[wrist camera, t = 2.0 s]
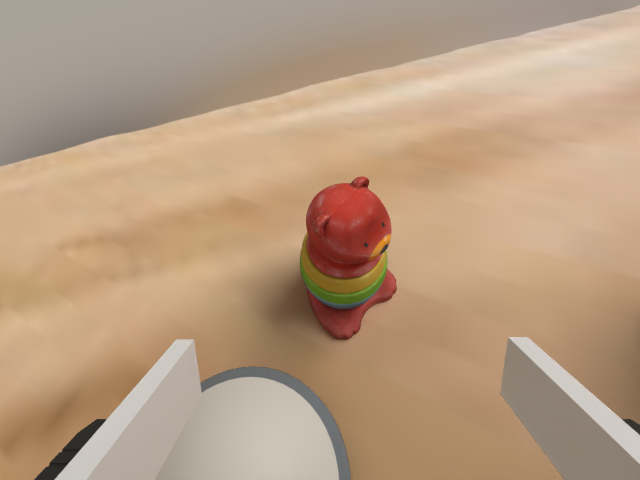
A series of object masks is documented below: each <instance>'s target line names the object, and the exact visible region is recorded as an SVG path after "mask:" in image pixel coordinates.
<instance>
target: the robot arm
mask: <svg viewBox="0 0 640 480" xmlns="http://www.w3.org/2000/svg"><path fill="white" fill-rule="evenodd" d="M500 394H501V396H502V397H503V398H504V400H505V401H506V402H507V404H508V405H509V406H510V408H511V409H512V410H513V412H514V413H515V414H516V416H517V417H518V418H519V420H520V421H521V422H522V424H523V425H524V426H525V428H526V429H527V430H528V432H529V433H530V434H531V436H532V437H533V438H534V440H535V441H536V442H537V444H538V445H539V447H540V448H541V449H542V451H543V452H544V453H545V455H546V456H547V457H548V459H549V460H550V461H551V463H552V464H553V465H554V467H555V468H556V469H557V471H558V472H559V473H560V475H561V476H562V477H563V479H564V480H640V425H639V424H637V423H636V422H634V421H632V420H631V419H621V418H620V417H618V416H617V415H616V414H615V413H614V412H613V411H612V410H610V409H609V408H608V407H607V406H606V405H605V404H603V403H602V402H601V401H600V400H599V399H598V398H597V397H595V396H594V395H593V394H592V393H591V392H590V391H589V390H587V389H586V388H585V387H584V386H583V385H582V384H581V383H579V382H578V381H577V380H576V379H575V378H574V377H573V376H571V375H570V374H569V373H568V372H567V371H566V370H565V369H563V368H562V367H561V366H560V365H559V364H558V363H556V362H555V361H554V360H553V359H552V358H551V357H550V356H548V355H547V354H546V353H545V352H544V351H543V350H542V349H540V348H539V347H538V346H537V345H536V344H535V343H534V342H532V341H531V340H530V339H529V338H528V337H508V343H507V350H506V357H505V364H504V371H503V378H502V385H501V392H500ZM201 395H202V392H201V385H200V378H199V371H198V364H197V357H196V350H195V343H194V339H193V340H176V341H175V342H174V343H173V344H172V345H171V346H170V347H169V349H168V350H167V351H166V352H165V353H164V354H163V355H162V357H161V358H160V359H159V360H158V361H157V362H156V364H155V365H154V366H153V367H152V368H151V369H150V370H149V372H148V373H147V374H146V375H145V376H144V377H143V378H142V380H141V381H140V382H139V383H138V384H137V385H136V387H135V388H134V389H133V390H132V391H131V392H130V393H129V395H128V396H127V397H126V398H125V399H124V400H123V401H122V403H121V404H120V405H119V406H118V407H117V408H116V410H115V411H114V412H113V413H112V414H111V415H110V416H109V418H108V419H97V420H95V421H94V422H92V423H91V424H90V425H88V426H87V427H85V428H84V429H83V430H81V431H80V432H79V433H77V434H76V436H75V437H74V438H73V439H72V440H71V441H70V442H69V443H68V444H67V445H66V446H65V447H64V448H63V451H62V452H61V453H59V454H58V455H57V456H56V457H55V458H54V459H53V460H52V461H51V462H50V465H49V466H48V467H46V468H45V469H44V470H43V471H42V472H41V473H40V474H39V475H38V476H37V477H36V478H35V479H34V480H155V478H156V476H157V474H158V473H159V471H160V469H161V467H162V465H163V464H164V462H165V460H166V458H167V456H168V454H169V453H170V451H171V449H172V447H173V445H174V444H175V442H176V440H177V438H178V436H179V435H180V433H181V431H182V429H183V427H184V426H185V424H186V422H187V420H188V418H189V416H190V415H191V413H192V411H193V409H194V407H195V406H196V404H197V402H198V400H199V398H200V397H201Z"/></svg>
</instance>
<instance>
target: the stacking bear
mask: <svg viewBox="0 0 640 480" xmlns="http://www.w3.org/2000/svg"><path fill="white" fill-rule="evenodd" d="M368 185H369V179H368V178H366V177H358V178H356V179H354V180H353V181H352V183H351V184H350V183H341V184H335V185H332V186H329V187H327V188H325V189H323V190H322V191H320V192H319V193H318V194H317V195H316V196H315V197H314V199H313V200H312V202H311V203H310V205H309V208H308V211H307V216H306V226H307V233H306V235H305V238H304V241H303V244H302V249H301V255H300V269H301V274H302V277H303V280H304V283H305V284H306V286H307V292H308V297H309V301H310V304H311V307H312V309H313V312H314V314H315V315H316V317H317V319H318V320H319V322H320V323H321V325H322V326H323V327H324V328H325V329H326V330H327V331H328V332H329V333H330V334H331V335H332V336H334V337H335V338H337V339H341V338H345V339H349V338H351V337H352V335H353V334H356V333H357V332H358V331H359V329H360V325H361V321H362V318H363V316H364V314H365V312H366V311H367V310H368V309H369V308H370V307H371V306H372V305H374V304H376V303H379V302H383V301H387V300H389V299H391V298H392V295H393V294H394V293H395V292H396V289H397V287H396V279H395V277H394V275H393V274H392V273H391V272H390V271H389V270H388V269H387V253H386V249H387V247H388V245H389V243H390V239H391V222H390V218H389V215H388V213H387V211H386V209H385V207H384V205H383V203H382V202H381V200H380V199H379V198H378V197H377V196H376V195H375V194H374V193H373V192H371V191H370V190H369V189H368Z"/></svg>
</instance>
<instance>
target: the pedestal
mask: <svg viewBox="0 0 640 480" xmlns="http://www.w3.org/2000/svg"><path fill="white" fill-rule="evenodd" d="M200 385H201V392H202V395H201V397H200V398H199V400H198V402H197V404H196V406H195V407H194V409H193V411H192V413H191V415H190V416H189V418H188V420H187V422H186V424H185V426H184V427H183V429H182V431H181V433H180V435H179V436H178V438H177V440H176V442H175V444H174V445H173V447H172V449H171V451H170V453H169V454H168V456H167V458H166V460H165V462H164V464H163V465H162V467H161V469H160V471H159V473H158V474H157V476H156V478H155V480H351V477H350V468H349V463H348V457H347V452H346V448H345V445H344V442H343V439H342V435H341V433H340V430H339V428H338V426H337V424H336V421H335V420H334V418H333V416H332V415H331V413H330V411H329V410H328V408H327V407H326V406H325V404H324V403H323V402H322V400H321V399H320V398H319V397H318V396H317V395H316V394H315V393H314V392H313V391H312V390H311V389H310V388H309V387H307V386H306V385H305V384H303V383H302V382H301V381H299V380H298V379H296V378H294V377H292V376H291V375H289V374H286V373H284V372H281V371H278V370H275V369H270V368H266V367H241V368H236V369H232V370H228V371H225V372H222V373H219V374H217V375H215V376H213V377H211V378H209V379H207V380H205V381H203V382H202V383H200Z"/></svg>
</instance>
